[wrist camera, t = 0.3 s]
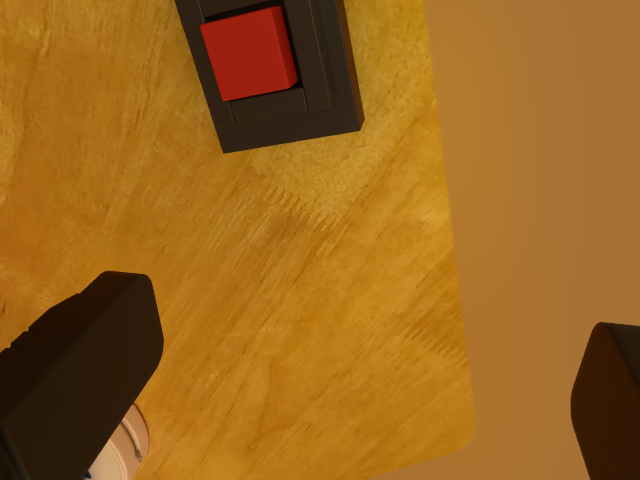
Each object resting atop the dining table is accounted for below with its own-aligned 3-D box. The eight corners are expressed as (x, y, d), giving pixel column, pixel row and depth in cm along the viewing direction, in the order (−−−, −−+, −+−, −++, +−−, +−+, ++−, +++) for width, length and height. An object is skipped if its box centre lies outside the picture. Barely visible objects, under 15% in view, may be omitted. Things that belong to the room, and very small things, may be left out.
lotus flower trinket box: (72, 559, 45) (162, 468, 35) (-82, 473, 43) (-31, 350, 33) (113, 491, 51) (200, 397, 41) (-21, 412, 49) (38, 292, 39)
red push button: (180, -43, 25) (141, -45, 22) (327, -87, 23) (311, -97, 20) (235, 142, 30) (211, 164, 26) (365, 120, 27) (356, 141, 24)
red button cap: (213, 21, 23) (198, 25, 21) (281, 4, 22) (270, 7, 21) (234, 93, 24) (222, 101, 23) (298, 80, 24) (289, 88, 22)
